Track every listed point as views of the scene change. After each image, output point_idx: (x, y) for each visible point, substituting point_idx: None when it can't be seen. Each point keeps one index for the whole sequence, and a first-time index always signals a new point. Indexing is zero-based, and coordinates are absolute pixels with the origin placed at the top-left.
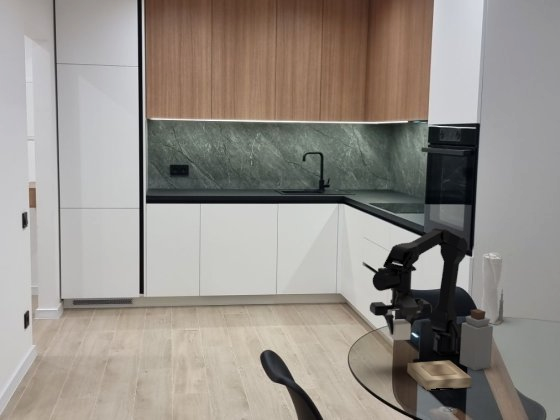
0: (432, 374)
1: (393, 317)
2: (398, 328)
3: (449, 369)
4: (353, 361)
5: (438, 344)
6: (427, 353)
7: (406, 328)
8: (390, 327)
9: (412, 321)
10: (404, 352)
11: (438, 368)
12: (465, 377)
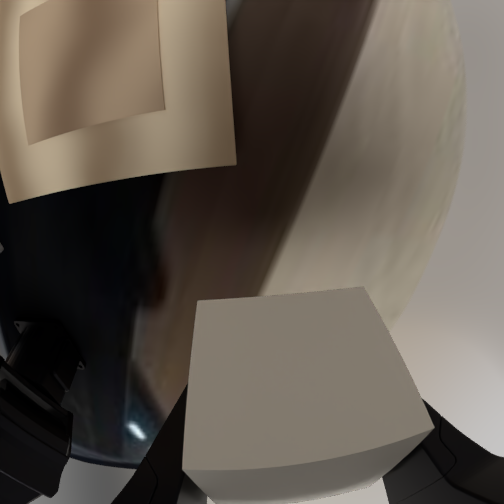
0: None
1: (498, 498)
2: (376, 395)
3: (28, 64)
4: (408, 296)
5: (56, 359)
6: (102, 343)
7: (252, 407)
8: (426, 403)
9: (149, 493)
10: (184, 360)
11: (73, 68)
12: None
